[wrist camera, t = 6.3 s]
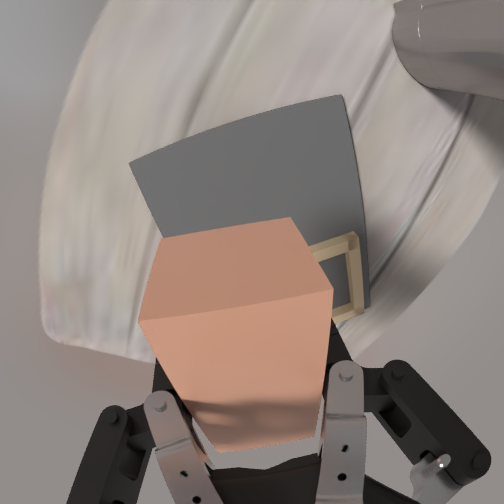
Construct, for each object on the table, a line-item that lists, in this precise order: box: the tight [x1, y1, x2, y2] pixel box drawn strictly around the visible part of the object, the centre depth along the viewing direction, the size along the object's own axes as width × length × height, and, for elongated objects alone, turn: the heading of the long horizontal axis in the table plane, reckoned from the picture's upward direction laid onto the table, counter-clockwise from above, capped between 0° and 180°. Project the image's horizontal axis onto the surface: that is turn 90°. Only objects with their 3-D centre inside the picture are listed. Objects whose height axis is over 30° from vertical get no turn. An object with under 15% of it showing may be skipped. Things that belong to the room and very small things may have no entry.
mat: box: [129, 95, 370, 324], centre depth 26 cm, size 24×18×2 cm
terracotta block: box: [138, 217, 334, 452], centre depth 11 cm, size 10×5×4 cm, turn 7°
